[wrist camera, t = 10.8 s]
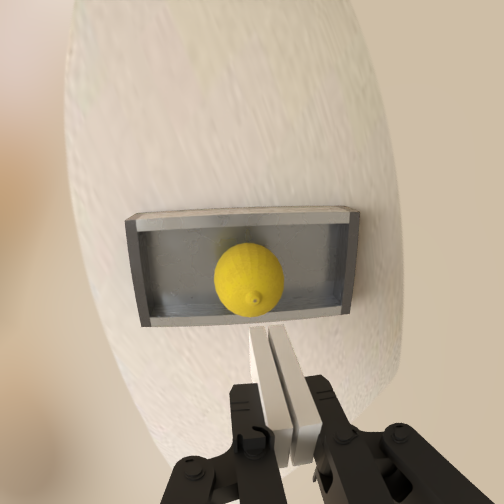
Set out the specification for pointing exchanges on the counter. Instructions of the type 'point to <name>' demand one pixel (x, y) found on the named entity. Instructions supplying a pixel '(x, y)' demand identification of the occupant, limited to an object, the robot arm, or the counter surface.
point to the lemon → (249, 280)
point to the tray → (228, 235)
